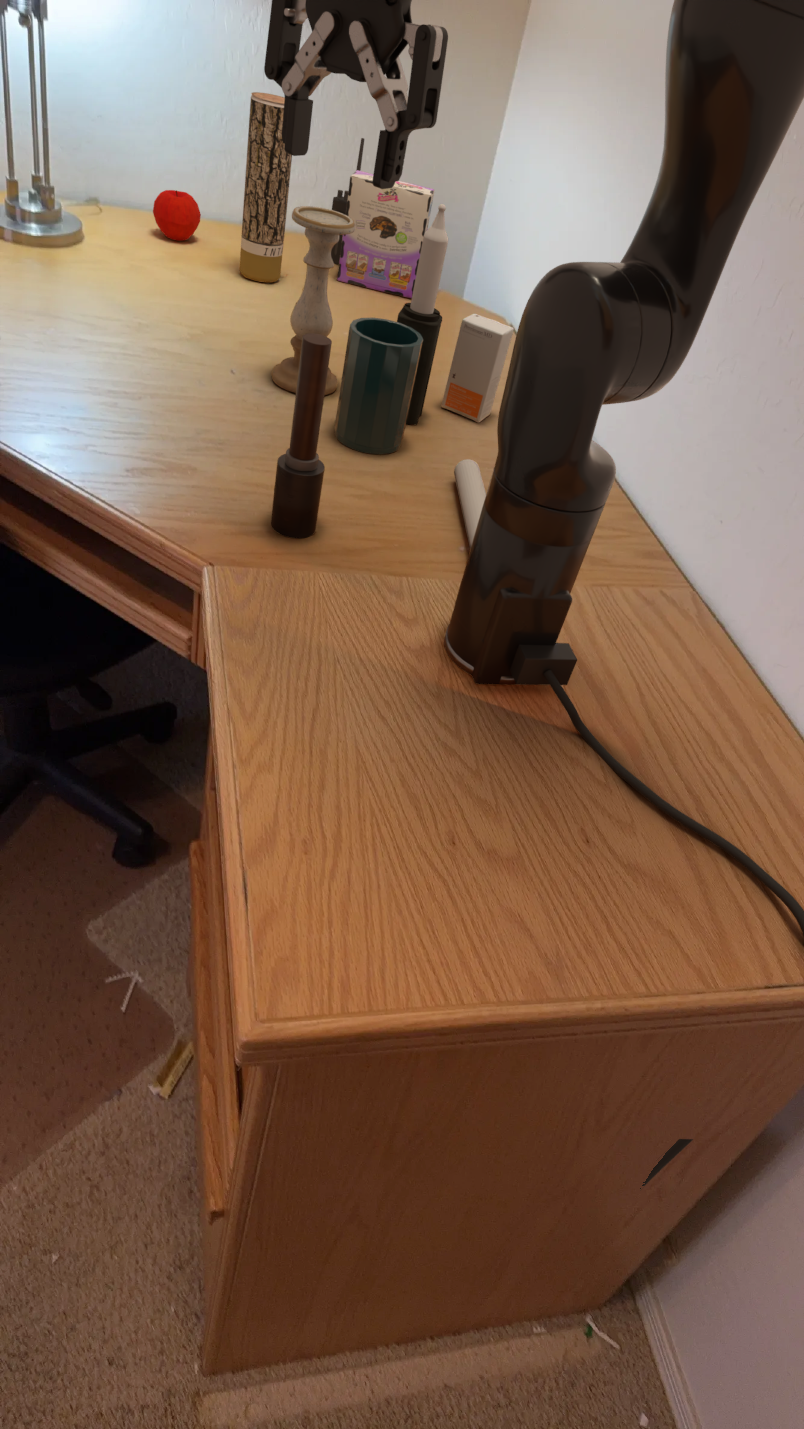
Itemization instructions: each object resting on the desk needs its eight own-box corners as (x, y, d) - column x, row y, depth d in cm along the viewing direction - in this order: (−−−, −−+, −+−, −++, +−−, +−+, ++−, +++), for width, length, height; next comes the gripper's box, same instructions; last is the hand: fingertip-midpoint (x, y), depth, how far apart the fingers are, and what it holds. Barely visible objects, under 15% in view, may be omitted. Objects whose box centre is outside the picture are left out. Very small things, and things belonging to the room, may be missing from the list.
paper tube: (232, 275, 144) (243, 93, 128) (249, 266, 149) (262, 90, 133) (270, 287, 143) (286, 105, 127) (286, 277, 149) (303, 102, 132)
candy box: (416, 291, 157) (436, 188, 147) (412, 300, 153) (432, 194, 142) (342, 271, 157) (356, 167, 146) (335, 280, 153) (349, 173, 142)
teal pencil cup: (407, 457, 107) (430, 350, 98) (340, 451, 104) (357, 341, 96) (393, 426, 113) (414, 322, 104) (329, 419, 110) (345, 313, 102)
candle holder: (260, 383, 115) (275, 211, 101) (286, 363, 121) (304, 199, 108) (322, 403, 114) (346, 232, 100) (345, 382, 120) (370, 219, 107)
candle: (415, 426, 114) (461, 214, 98) (378, 416, 114) (417, 202, 98) (422, 412, 118) (467, 205, 101) (386, 402, 118) (425, 194, 102)
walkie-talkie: (354, 265, 162) (373, 139, 149) (344, 267, 160) (362, 139, 146) (333, 256, 163) (350, 131, 150) (323, 258, 161) (339, 131, 148)
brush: (318, 539, 89) (346, 352, 76) (273, 537, 88) (294, 345, 75) (312, 516, 92) (338, 332, 80) (268, 513, 91) (288, 325, 78)
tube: (505, 606, 87) (475, 484, 105) (514, 580, 84) (482, 460, 103) (476, 602, 86) (451, 480, 104) (484, 576, 84) (457, 456, 102)
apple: (185, 230, 157) (186, 183, 153) (208, 245, 154) (210, 198, 149) (144, 230, 153) (144, 182, 148) (167, 245, 149) (168, 197, 144)
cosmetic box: (439, 408, 120) (460, 318, 112) (452, 399, 123) (473, 311, 115) (479, 424, 119) (503, 334, 111) (491, 415, 122) (515, 327, 114)
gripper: (254, -139, 58) (237, 145, 68) (435, -94, 53) (387, 202, 64) (322, -119, 63) (296, 143, 74) (492, -76, 59) (438, 195, 69)
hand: (338, 170), depth 69 cm, fingers open, 8 cm apart
